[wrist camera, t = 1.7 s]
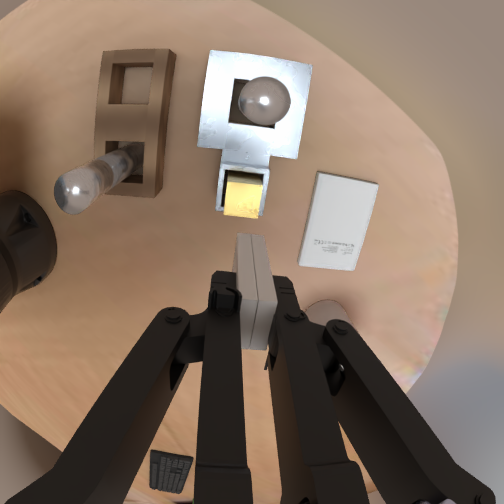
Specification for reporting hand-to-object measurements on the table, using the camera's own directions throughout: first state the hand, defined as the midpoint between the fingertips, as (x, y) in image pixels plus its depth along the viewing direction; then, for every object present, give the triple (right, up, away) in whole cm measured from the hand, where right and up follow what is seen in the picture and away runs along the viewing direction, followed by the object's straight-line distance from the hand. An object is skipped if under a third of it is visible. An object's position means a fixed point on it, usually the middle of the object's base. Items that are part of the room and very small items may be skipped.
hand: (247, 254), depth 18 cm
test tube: (-14, +12, +15) cm, 23 cm away
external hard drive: (+11, +4, +21) cm, 24 cm away
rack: (-13, +15, +13) cm, 24 cm away
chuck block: (0, +14, +15) cm, 20 cm away
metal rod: (0, +17, +13) cm, 21 cm away
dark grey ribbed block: (-25, -67, +55) cm, 90 cm away
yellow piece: (-1, +8, +15) cm, 17 cm away
